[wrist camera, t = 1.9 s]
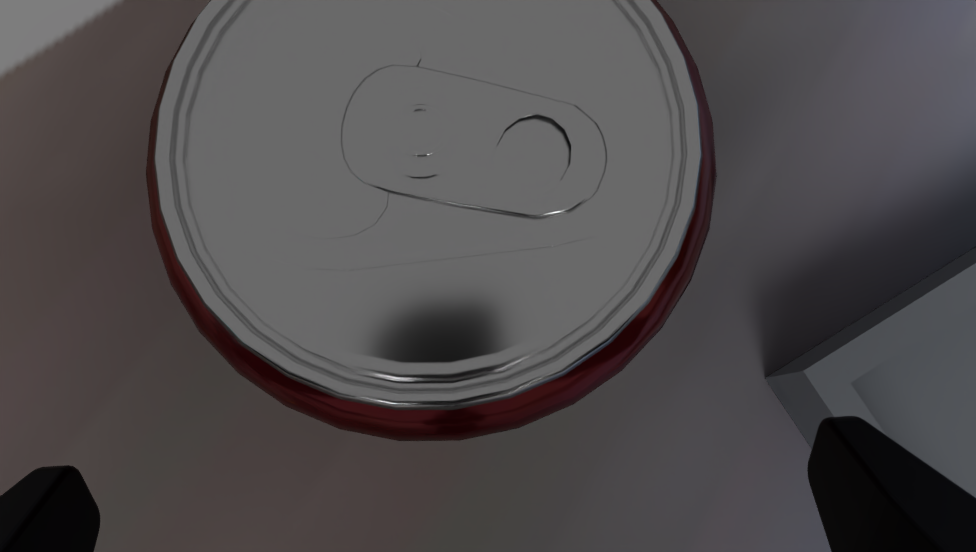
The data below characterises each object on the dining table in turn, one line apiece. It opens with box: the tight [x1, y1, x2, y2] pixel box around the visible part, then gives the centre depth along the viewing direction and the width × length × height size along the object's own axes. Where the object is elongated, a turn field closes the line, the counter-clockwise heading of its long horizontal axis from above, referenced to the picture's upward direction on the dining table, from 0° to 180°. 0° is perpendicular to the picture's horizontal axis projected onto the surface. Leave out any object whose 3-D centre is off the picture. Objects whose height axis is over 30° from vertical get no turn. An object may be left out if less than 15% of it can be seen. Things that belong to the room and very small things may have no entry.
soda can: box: [146, 0, 717, 441], centre depth 15 cm, size 7×7×12 cm
